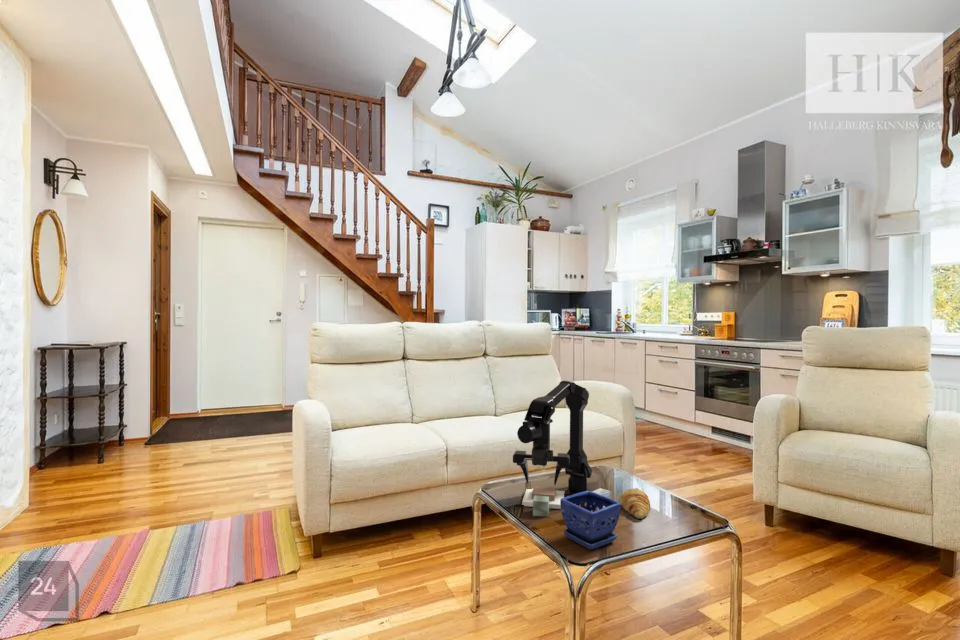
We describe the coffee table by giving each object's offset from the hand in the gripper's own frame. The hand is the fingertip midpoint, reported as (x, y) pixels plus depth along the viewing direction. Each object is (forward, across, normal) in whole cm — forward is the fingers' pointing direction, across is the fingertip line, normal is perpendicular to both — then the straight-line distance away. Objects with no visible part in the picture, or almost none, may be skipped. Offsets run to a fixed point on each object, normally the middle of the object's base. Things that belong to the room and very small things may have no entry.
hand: (541, 483), depth 165 cm
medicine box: (+10, +19, 0) cm, 22 cm away
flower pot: (+10, +16, -17) cm, 26 cm away
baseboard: (+10, 0, +12) cm, 16 cm away
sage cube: (+10, 0, 0) cm, 10 cm away
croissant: (+10, +31, +11) cm, 34 cm away
